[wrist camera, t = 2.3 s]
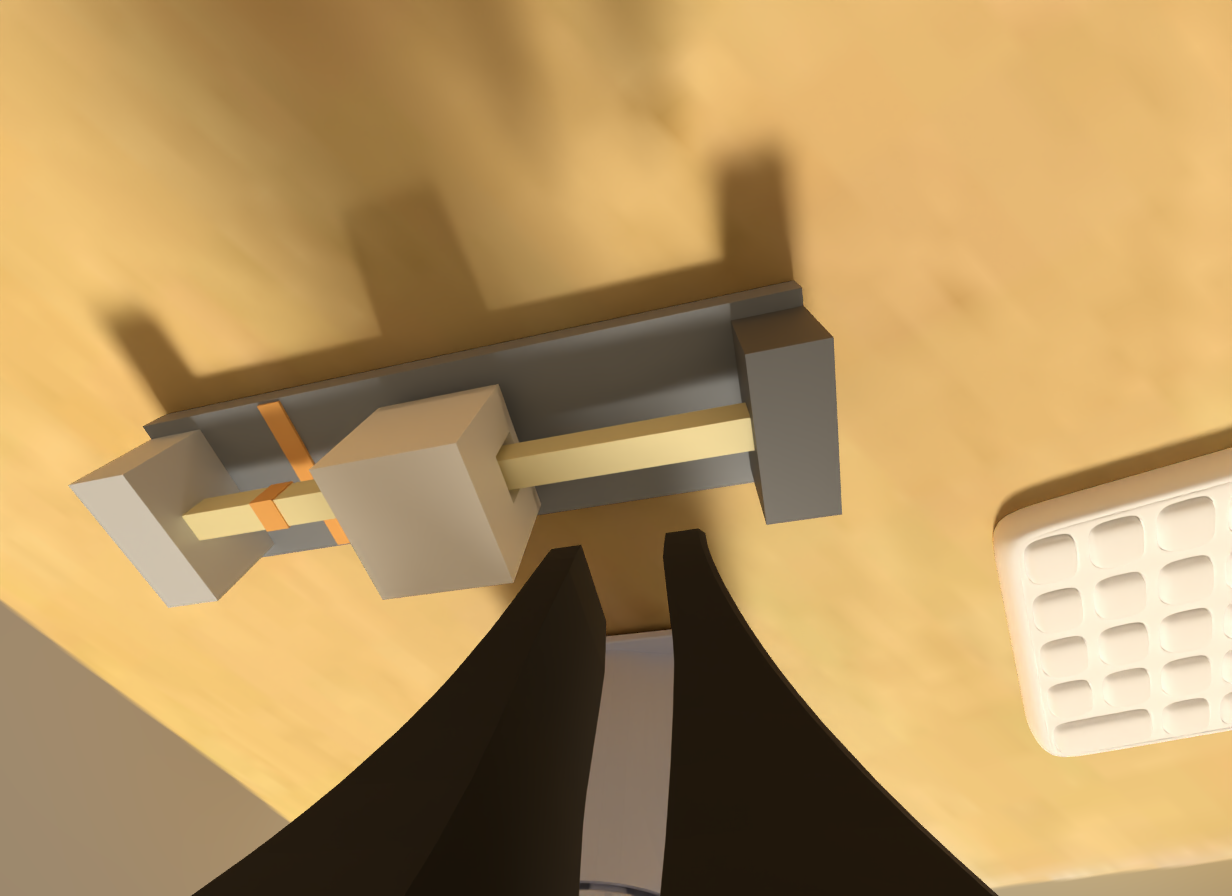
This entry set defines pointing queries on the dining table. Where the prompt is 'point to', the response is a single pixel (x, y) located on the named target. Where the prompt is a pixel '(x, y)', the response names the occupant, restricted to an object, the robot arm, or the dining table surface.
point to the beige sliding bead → (430, 494)
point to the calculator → (1123, 608)
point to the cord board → (544, 457)
